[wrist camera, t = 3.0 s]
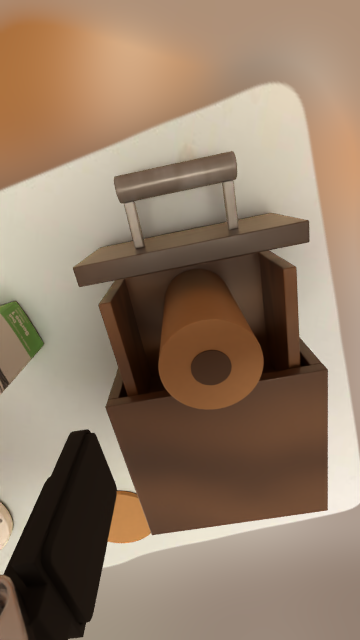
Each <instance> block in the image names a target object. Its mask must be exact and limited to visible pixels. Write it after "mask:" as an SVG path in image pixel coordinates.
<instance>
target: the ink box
mask: <svg viewBox="0 0 360 640" xmlns="http://www.w3.org/2000/svg"><path fill="white" fill-rule="evenodd" d="M43 344H44V343H43V342H42V340H41V339H40V337H39V335H38V333H37V332H36V330H35V328H34V327H33V325H32V324H31V322H30V321H29V319H28V318H27V316H26V314H25V313H24V312H23V310H22V309H21V307H20V306H19V305H18V303H17V302H15V301H14V302H11V303H8V304H5V305H2V306H0V395H1V394H2V393H3V391H4V390H5V389H6V388H7V387H8V386H9V384H10V383H11V382H12V381H13V380H14V379H15V378H16V376H17V375H18V374H19V373H20V372H21V371H22V369H23V368H24V367H25V366H26V365H27V364H28V363H29V361H30V360H31V359H32V358H33V357H34V356H35V354H36V353H37V352H38V351H39V350H40V349H41V347H42V346H43Z"/></svg>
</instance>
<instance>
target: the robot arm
mask: <svg viewBox="0 0 360 640" xmlns="http://www.w3.org/2000/svg"><path fill="white" fill-rule="evenodd" d="M116 496H117V488H116V484H115V481H114V479H113V476H112V474H111V471H110V469H109V466H108V464H107V461H106V459H105V456H104V454H103V451H102V449H101V446H100V444H99V441H98V439H97V436H96V434H95V433H91V432H90V431H89V430H80V431H74V432H71V433H70V435H69V436H68V439H67V441H66V443H65V445H64V448H63V450H62V452H61V454H60V457H59V459H58V461H57V463H56V466H55V468H54V470H53V472H52V475H51V476H50V477H49V478H48V479H47V481H46V482H45V484H44V486H43V488H42V491H41V493H40V495H39V497H38V499H37V502H36V504H35V506H34V508H33V510H32V513H31V515H30V517H29V519H28V521H27V524H26V526H25V528H24V530H23V532H22V535H21V537H20V539H19V541H18V543H17V546H16V548H15V550H14V552H13V554H12V557H11V559H10V561H9V563H8V565H7V568H6V570H5V572H4V574H3V575H0V640H68V639H70V638H79V637H83V635H84V630H85V625H86V622H89V621H90V620H91V618H92V616H93V612H94V607H95V602H96V597H97V592H98V587H99V581H100V577H101V571H102V567H103V562H104V557H105V552H106V547H107V542H108V537H109V532H110V527H111V522H112V517H113V512H114V507H115V502H116ZM12 530H13V522H12V518H11V516H10V514H9V512H8V510H7V509H6V508H5V507H4V505H3V504H2V503H1V502H0V550H1V549H2V548H3V547H4V546H5V545H6V543H7V541H8V539H9V537H10V535H11V533H12Z"/></svg>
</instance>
